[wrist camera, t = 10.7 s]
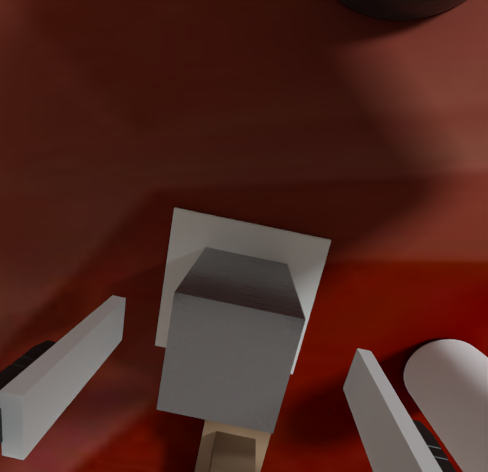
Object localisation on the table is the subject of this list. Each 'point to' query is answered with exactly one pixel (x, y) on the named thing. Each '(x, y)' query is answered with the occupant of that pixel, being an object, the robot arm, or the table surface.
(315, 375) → the table surface
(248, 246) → the mat
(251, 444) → the plane body
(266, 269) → the slate gray cube
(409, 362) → the can
